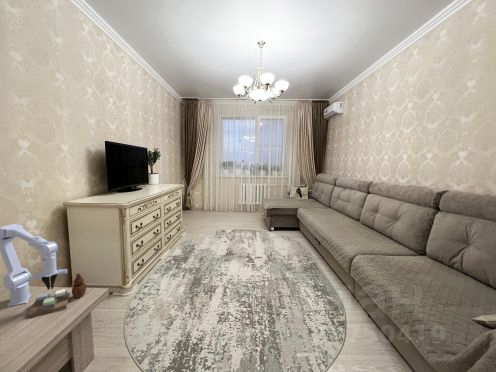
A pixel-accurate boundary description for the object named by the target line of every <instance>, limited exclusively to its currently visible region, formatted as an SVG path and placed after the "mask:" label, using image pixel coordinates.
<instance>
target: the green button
mask: <svg viewBox="0 0 496 372" xmlns="http://www.w3.org/2000/svg"><path fill="white" fill-rule="evenodd" d="M54 301H55V297H52V298H47V299H45V300H44V302H43V306H46V305H50V304H54Z"/></svg>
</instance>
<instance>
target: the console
mask: <svg viewBox="0 0 496 372" xmlns="http://www.w3.org/2000/svg"><path fill="white" fill-rule="evenodd" d="M52 297H55V294H53V295H51V293H49V297H48V298H52ZM70 297H71V292H68V290H67V289H66V293H65V295H62V296H57V297H55V301H54V304H50V305H46V306H43V302H44V300H45V299H44V300H39V301H37V298H36V299H35V301H34V303H33V304H32V307H31V308H30V310H29V311H28V314H27V317H28V319H30V318H35V317H39V316H42V315H47V314H51V313H54V312H59V311H63V310H67V308H68V304H69V300H70Z"/></svg>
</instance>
